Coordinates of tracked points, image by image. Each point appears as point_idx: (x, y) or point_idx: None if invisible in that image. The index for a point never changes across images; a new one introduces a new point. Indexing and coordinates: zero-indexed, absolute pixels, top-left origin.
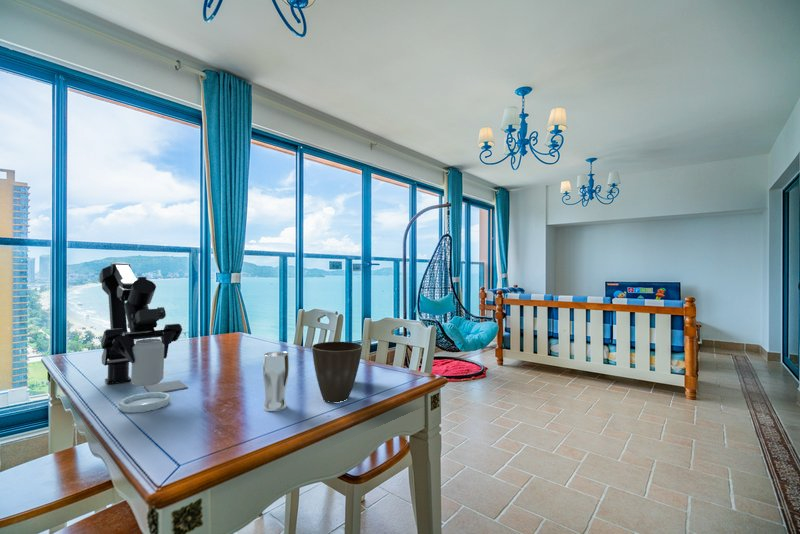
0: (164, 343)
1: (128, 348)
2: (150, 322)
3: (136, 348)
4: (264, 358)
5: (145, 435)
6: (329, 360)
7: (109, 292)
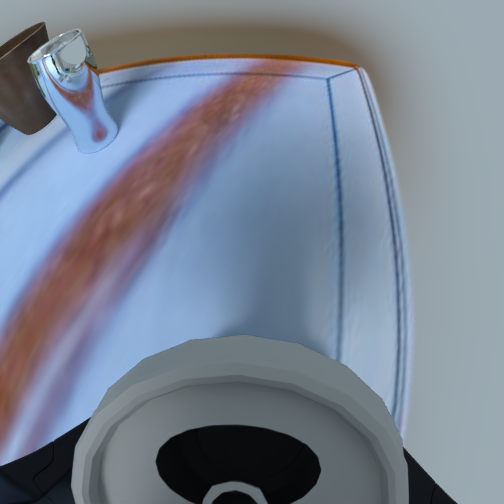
0: (66, 469)
1: (429, 499)
2: None
3: (398, 436)
4: (75, 45)
5: (341, 181)
6: (47, 38)
7: None
